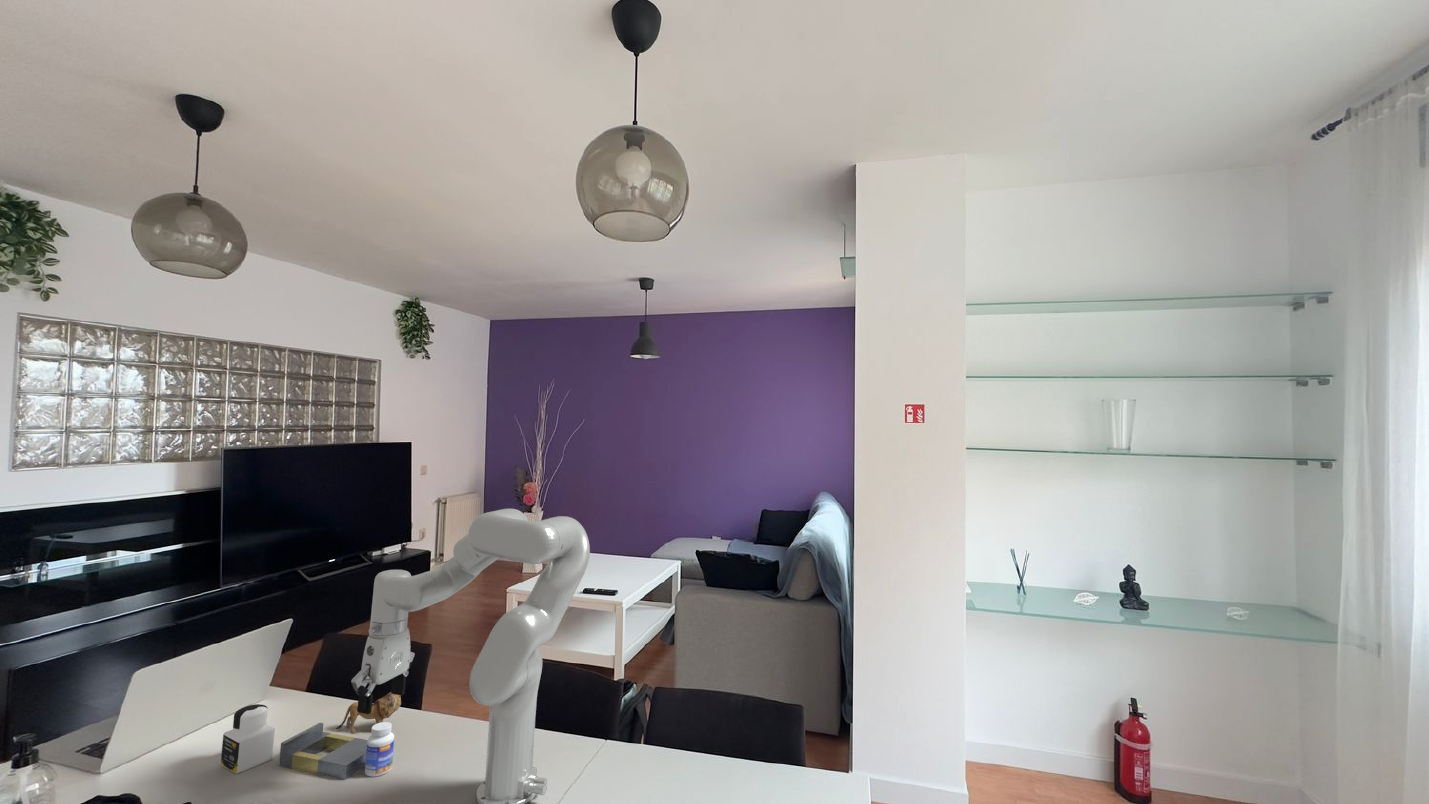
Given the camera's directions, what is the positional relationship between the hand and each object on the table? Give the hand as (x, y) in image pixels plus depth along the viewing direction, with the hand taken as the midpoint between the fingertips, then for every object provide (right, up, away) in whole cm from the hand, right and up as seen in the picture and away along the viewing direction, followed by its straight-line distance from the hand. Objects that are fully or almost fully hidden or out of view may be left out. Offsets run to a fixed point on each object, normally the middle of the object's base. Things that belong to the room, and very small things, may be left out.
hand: (381, 703), depth 132 cm
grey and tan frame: (-13, -14, +2) cm, 19 cm away
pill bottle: (0, -15, -1) cm, 15 cm away
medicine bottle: (-31, -14, 0) cm, 34 cm away
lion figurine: (-13, -16, +17) cm, 26 cm away
